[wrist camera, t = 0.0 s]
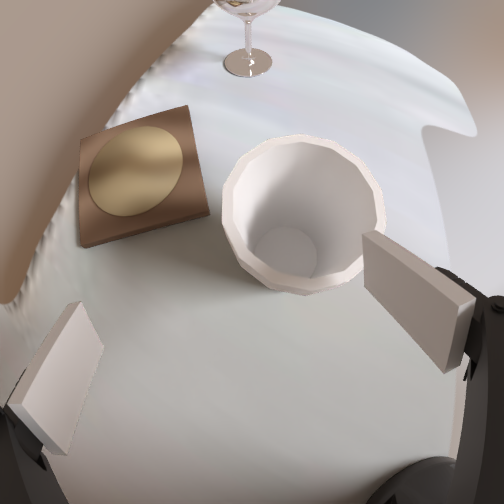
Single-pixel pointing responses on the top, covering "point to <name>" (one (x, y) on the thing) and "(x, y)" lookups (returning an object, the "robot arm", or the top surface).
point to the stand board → (139, 178)
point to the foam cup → (301, 213)
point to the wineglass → (247, 37)
